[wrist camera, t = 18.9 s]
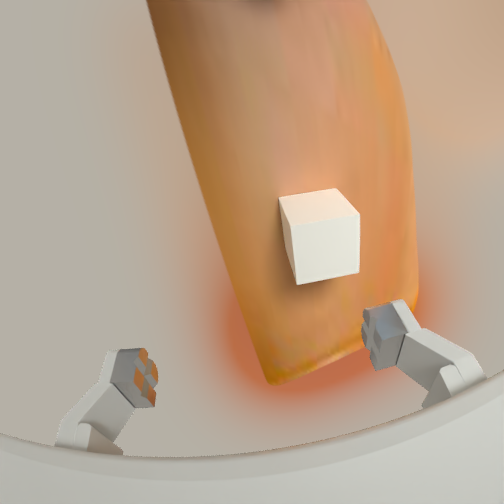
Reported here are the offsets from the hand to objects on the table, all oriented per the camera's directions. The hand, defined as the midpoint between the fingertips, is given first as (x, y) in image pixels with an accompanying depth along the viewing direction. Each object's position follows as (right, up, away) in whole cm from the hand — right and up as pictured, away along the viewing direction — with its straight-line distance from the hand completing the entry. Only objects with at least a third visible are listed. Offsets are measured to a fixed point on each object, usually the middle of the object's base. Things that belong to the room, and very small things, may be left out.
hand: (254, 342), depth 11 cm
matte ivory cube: (+7, +7, +26) cm, 28 cm away
